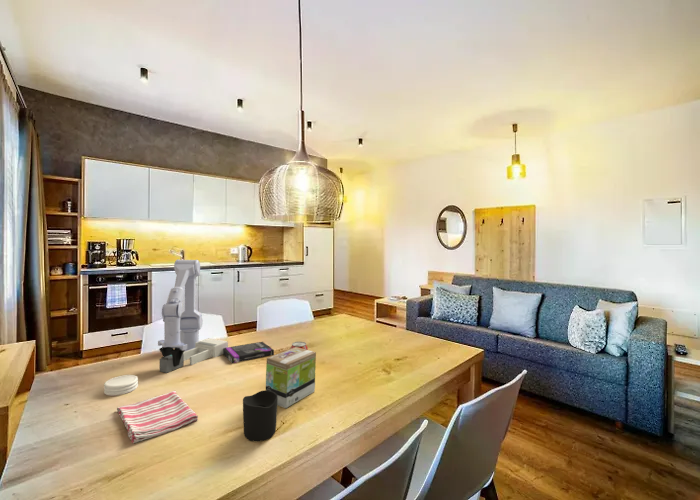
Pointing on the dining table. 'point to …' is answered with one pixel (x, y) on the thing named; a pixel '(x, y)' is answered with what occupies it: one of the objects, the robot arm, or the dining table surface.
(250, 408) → the pen holder
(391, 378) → the dining table surface
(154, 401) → the dish towel
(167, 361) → the grey tapered block
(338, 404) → the dining table surface
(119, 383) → the coaster
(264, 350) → the box
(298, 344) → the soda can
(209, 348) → the stand
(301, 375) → the tea box
